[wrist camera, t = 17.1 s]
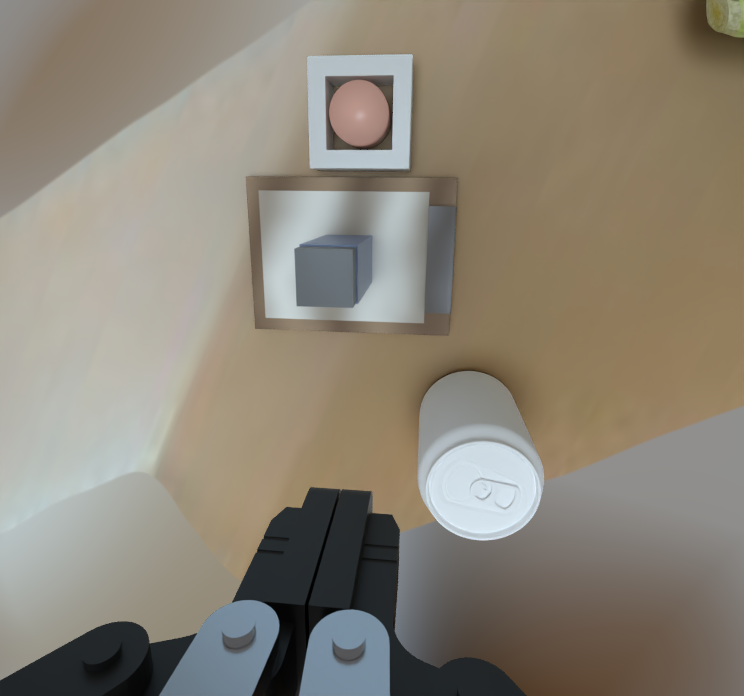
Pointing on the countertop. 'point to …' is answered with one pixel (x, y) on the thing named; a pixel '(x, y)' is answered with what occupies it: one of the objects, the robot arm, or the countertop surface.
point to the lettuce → (726, 16)
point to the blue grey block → (333, 270)
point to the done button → (360, 114)
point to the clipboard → (356, 217)
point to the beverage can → (477, 458)
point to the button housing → (320, 93)
